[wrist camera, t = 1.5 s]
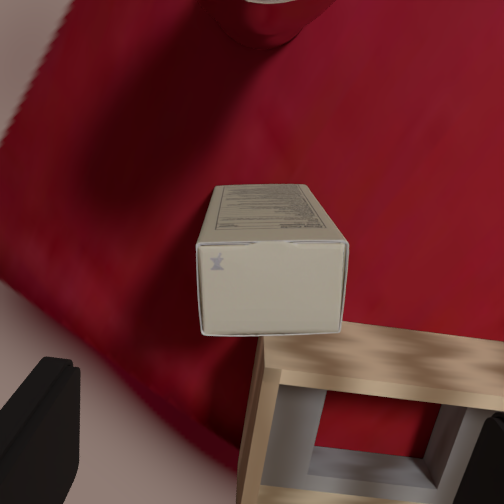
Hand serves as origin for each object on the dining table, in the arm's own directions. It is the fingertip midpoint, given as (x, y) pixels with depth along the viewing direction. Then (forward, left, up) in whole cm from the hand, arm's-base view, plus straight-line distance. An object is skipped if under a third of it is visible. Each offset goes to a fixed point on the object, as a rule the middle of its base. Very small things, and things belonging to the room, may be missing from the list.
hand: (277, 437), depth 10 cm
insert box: (-11, +14, -20) cm, 27 cm away
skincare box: (0, 0, -21) cm, 21 cm away
